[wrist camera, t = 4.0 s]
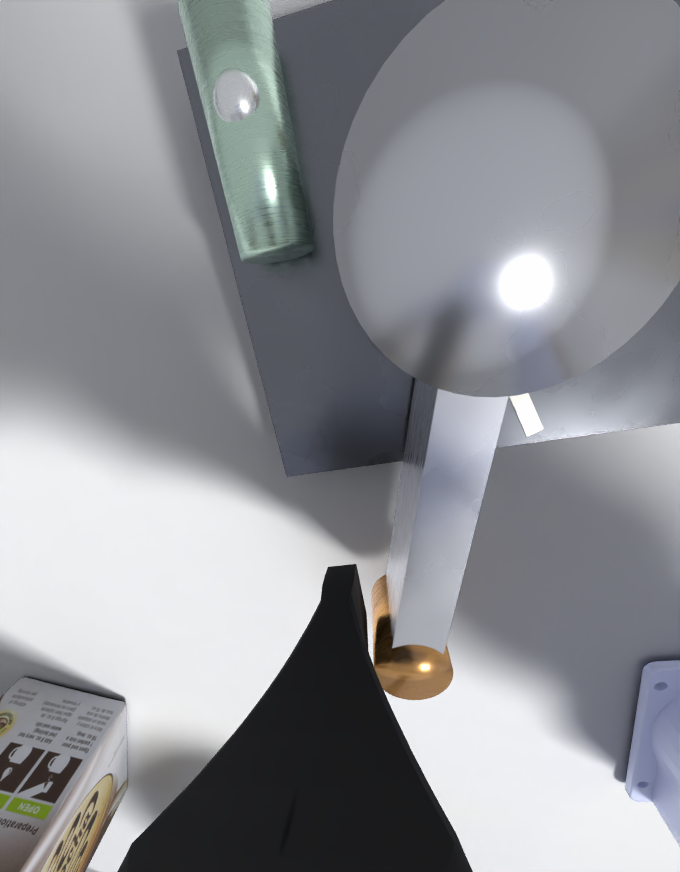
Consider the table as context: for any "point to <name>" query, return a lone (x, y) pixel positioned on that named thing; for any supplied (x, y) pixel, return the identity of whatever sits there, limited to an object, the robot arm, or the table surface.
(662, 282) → the silver pan
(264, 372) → the plate
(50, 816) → the coffee box
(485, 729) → the table surface
